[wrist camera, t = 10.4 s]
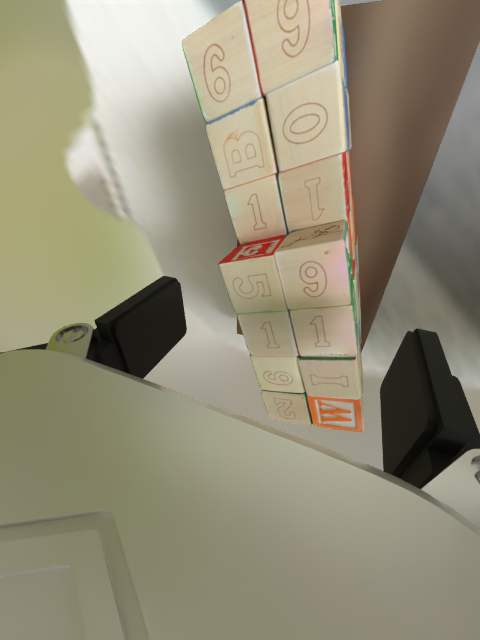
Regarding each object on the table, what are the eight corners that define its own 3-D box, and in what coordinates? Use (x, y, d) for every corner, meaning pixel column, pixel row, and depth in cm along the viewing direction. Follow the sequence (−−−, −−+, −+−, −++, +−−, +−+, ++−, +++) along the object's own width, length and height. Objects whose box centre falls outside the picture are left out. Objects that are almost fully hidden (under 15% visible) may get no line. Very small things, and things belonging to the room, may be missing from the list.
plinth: (473, 15, 16) (501, -17, 13) (357, 341, 31) (357, 363, 27) (256, 39, 20) (238, 20, 17) (247, 316, 35) (237, 333, 32)
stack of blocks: (250, 78, 18) (128, 6, 9) (345, 28, 15) (322, -161, 6) (299, 328, 28) (268, 423, 18) (362, 326, 25) (364, 438, 16)
